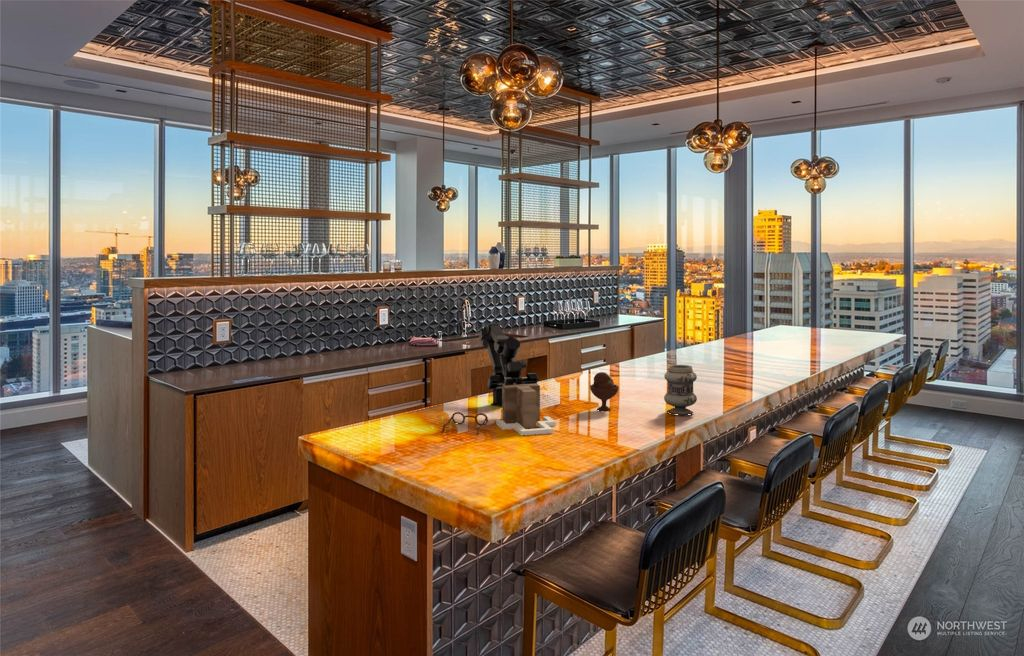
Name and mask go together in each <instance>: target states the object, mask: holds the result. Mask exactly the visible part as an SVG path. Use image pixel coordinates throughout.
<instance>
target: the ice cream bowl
mask: <svg viewBox="0 0 1024 656" xmlns="http://www.w3.org/2000/svg"><path fill="white" fill-rule="evenodd" d="M589 388H590V391H591V393H592V395H593V396H595V397H596V398H597V399H598V400H601V406H599V407H597V408H596V410H599V411H598V412H601V411H609V412H611V411H612V408H610V407H608V405H607V402H608V400H610V399H612V398H614V397H615V396H616V395H617V393H618V391H619V388H620V386H619V385H617V384H614V379H613V378H612V377H611V376H610V375H609V374H608V373H607V372H603V371H600V372H597V373H596V374H595V375H594V377H593V384H590V385H589ZM610 410H611V411H610Z"/></svg>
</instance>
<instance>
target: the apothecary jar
mask: <svg viewBox="0 0 1024 656" xmlns="http://www.w3.org/2000/svg"><path fill="white" fill-rule="evenodd" d="M697 378H698V376H697V374H696V373H695V371H693V366H692V365H688V364H673V365H672V364H671V365H669V367H668V370H667V371H666V372H665V374H664V379H665V380H666V381H667V392H666V393H665V394H664V396H663V401H664V402H665V403H666V404H667V405H669V406H671V407H672V408H670V409H668V410H666V413H667V412H669V413H671V414H678V415H688V414H692V413H694V412H693V410H691V409H690V408H689V409H688V408H687V407H691V406H693V405H694V404H696V403H697V400H698V398H697V395H696V394H695V393H694V382H695V381H696V380H697Z"/></svg>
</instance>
